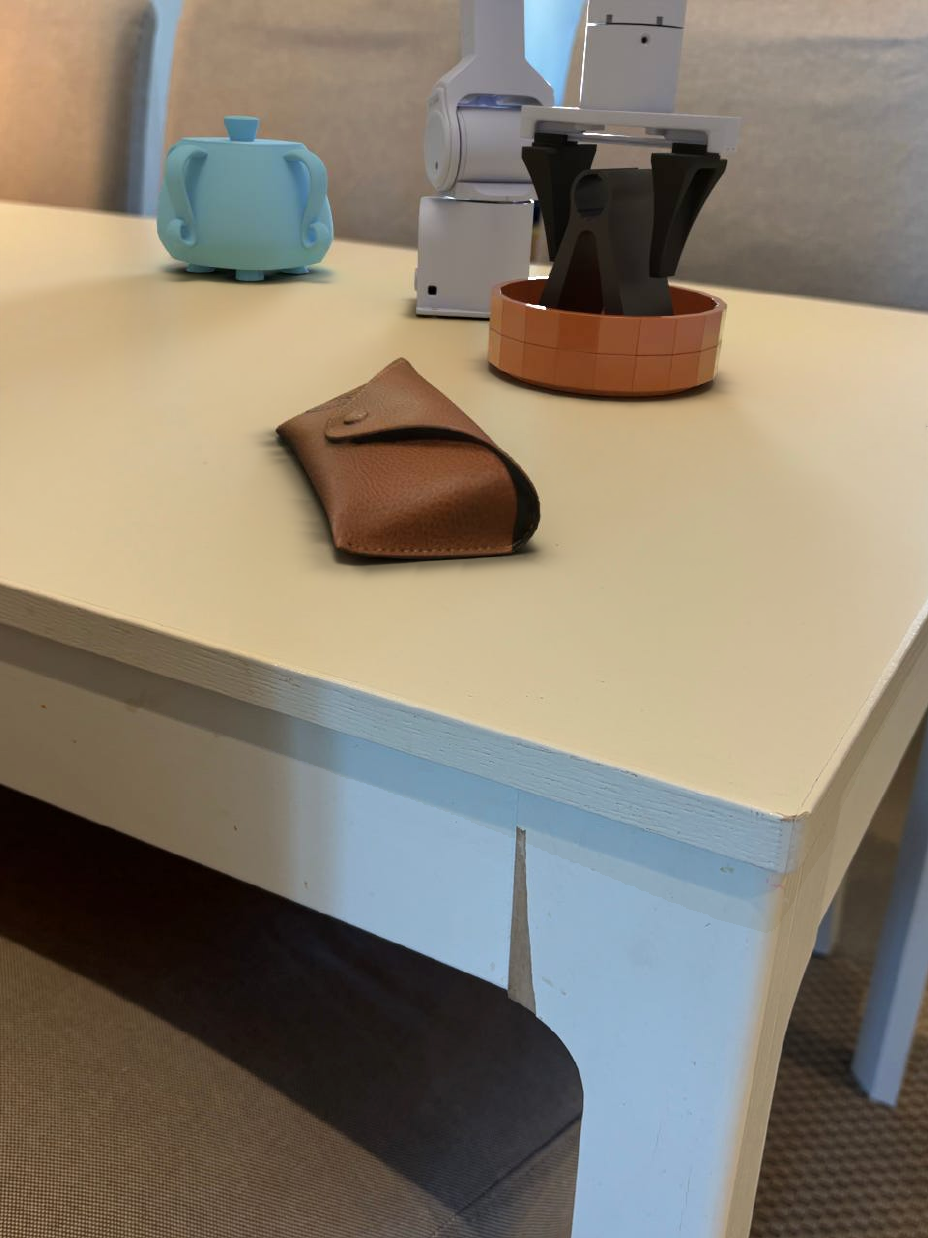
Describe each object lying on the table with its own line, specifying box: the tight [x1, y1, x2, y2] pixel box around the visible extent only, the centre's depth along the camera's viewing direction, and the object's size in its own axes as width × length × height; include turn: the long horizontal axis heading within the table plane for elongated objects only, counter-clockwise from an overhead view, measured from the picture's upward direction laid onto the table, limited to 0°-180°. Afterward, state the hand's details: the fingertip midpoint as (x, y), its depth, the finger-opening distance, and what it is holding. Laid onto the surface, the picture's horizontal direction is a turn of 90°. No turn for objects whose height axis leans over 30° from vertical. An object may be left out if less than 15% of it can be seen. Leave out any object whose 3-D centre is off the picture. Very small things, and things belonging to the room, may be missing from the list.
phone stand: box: [538, 167, 674, 316], centre depth 69 cm, size 9×6×12 cm, turn 50°
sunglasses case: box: [275, 356, 542, 560], centre depth 49 cm, size 18×7×7 cm
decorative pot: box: [156, 115, 334, 282], centre depth 100 cm, size 16×16×14 cm
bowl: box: [487, 276, 728, 398], centre depth 71 cm, size 15×15×5 cm
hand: (610, 268), depth 69 cm, fingers open, 7 cm apart
